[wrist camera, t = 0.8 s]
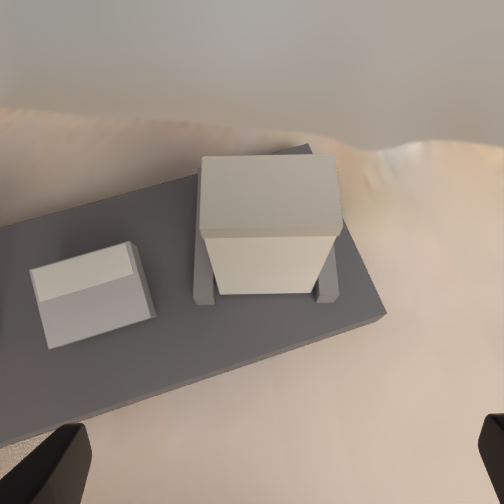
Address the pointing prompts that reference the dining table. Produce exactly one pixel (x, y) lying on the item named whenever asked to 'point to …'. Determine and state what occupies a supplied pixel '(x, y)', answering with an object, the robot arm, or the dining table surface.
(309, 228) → the slider button
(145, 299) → the rocker switch
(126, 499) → the dining table surface
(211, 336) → the control console
